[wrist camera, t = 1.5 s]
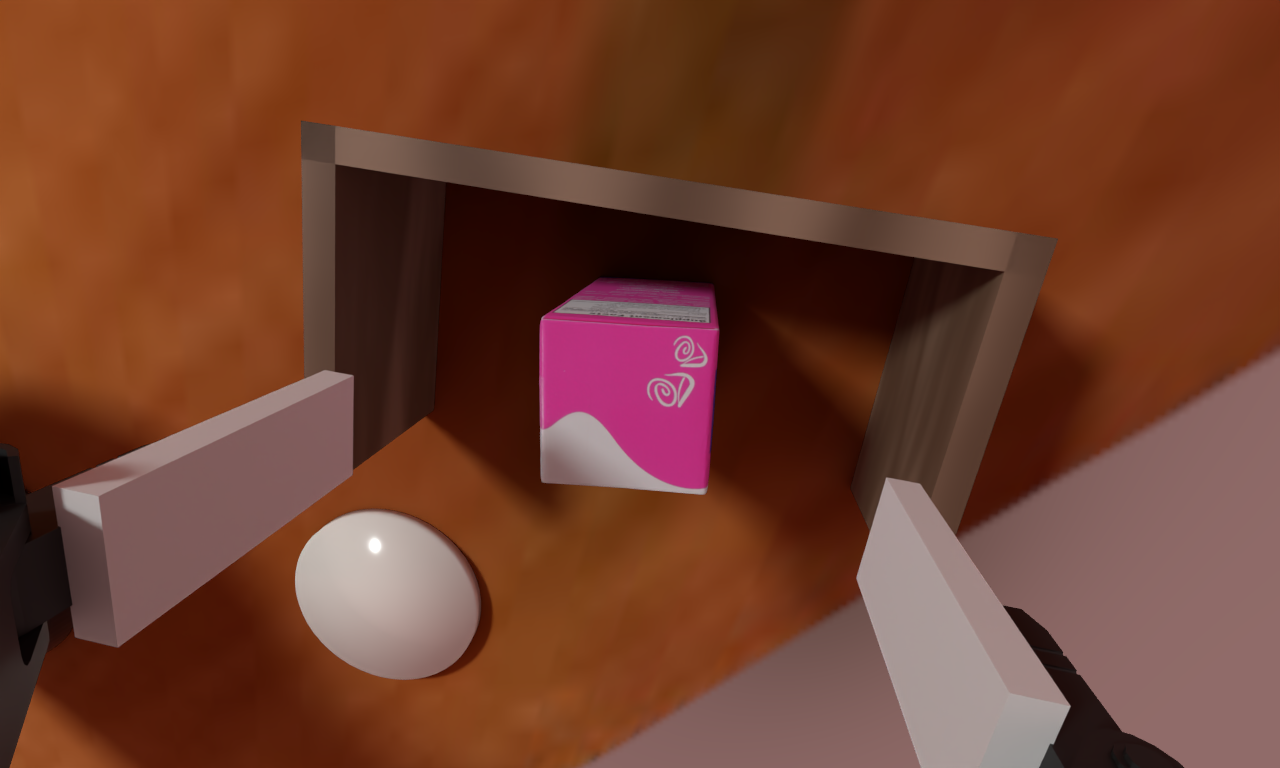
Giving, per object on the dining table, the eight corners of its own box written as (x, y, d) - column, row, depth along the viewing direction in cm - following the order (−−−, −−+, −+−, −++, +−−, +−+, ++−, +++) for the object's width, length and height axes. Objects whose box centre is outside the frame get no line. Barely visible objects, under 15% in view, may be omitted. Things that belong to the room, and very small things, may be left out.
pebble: (304, 649, 39) (296, 658, 38) (302, 492, 36) (293, 498, 35) (474, 686, 38) (469, 696, 37) (488, 529, 35) (483, 536, 34)
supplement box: (711, 397, 31) (706, 504, 20) (594, 388, 32) (529, 487, 21) (720, 280, 29) (721, 328, 18) (597, 273, 30) (527, 315, 19)
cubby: (412, 405, 33) (305, 477, 25) (423, 143, 29) (300, 120, 21) (874, 492, 31) (932, 602, 23) (952, 226, 27) (1057, 238, 19)
